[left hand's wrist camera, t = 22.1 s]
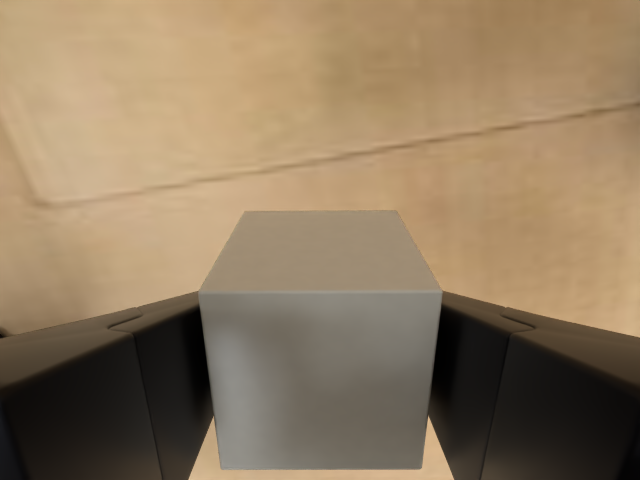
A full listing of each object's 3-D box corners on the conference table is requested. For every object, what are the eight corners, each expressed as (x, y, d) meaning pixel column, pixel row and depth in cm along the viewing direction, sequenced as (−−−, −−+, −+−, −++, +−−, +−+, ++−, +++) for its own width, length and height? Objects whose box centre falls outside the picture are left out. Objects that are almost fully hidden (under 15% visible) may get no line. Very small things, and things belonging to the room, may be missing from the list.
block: (253, 339, 13) (219, 471, 8) (243, 210, 11) (196, 291, 7) (388, 339, 13) (422, 471, 8) (396, 209, 11) (443, 290, 7)
